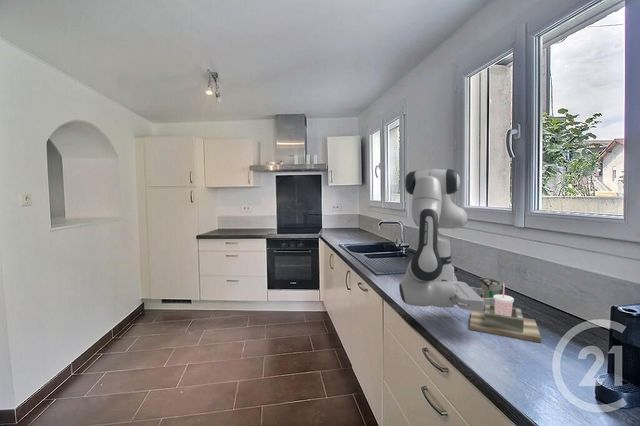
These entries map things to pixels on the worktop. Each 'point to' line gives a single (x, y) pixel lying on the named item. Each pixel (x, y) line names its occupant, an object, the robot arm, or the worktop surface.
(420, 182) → the robot arm
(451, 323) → the worktop surface
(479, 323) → the collar stand
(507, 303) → the beverage cup
